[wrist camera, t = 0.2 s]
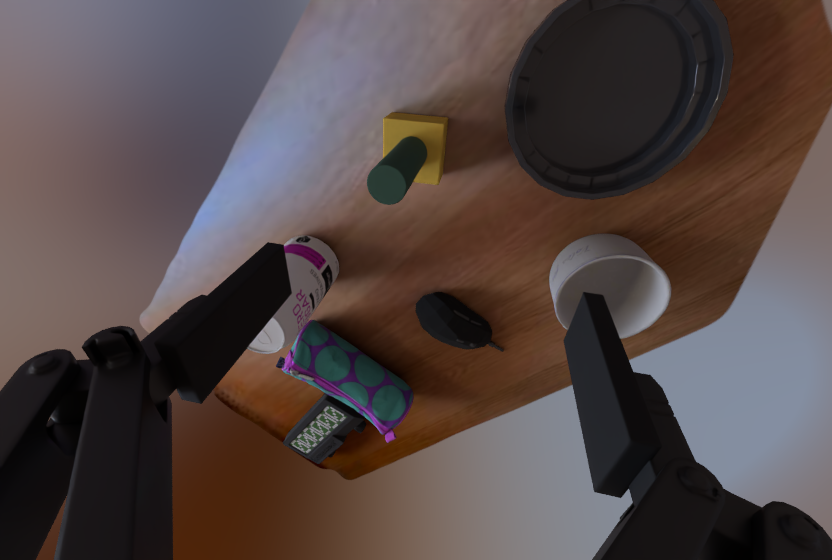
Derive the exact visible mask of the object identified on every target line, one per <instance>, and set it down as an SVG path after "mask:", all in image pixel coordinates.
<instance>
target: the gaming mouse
mask: <svg viewBox="0 0 832 560" xmlns="http://www.w3.org/2000/svg"><path fill="white" fill-rule="evenodd" d="M416 314H417V316H418V319H419V321H420V324H421V326H422V328H423V329H424V330H425V331H427V332H428V333H429V334H430V335H431V336H432V337H434V338H436V339H437V340H439V341H441V342H443V343H446V344H448V345H451V346H454V347H458V348H462V349H475V348H480V347H484V346H485V345H486V344H489V346H491V347H495V348H496V349H498V350H500V351H502V352H503V351H504V350H503V349H502V348H500V347H498V346H497V345H495V344H494V343H493V342H491V341H490V340H491V335H492V329H491V327H490V326H489V324H488V322H487V321H486V320H484V319H483V318H482V317H480V316H479V315H478V314H476V313H475V312H474V311H472V310H471V309H469V308H468V307H467V306H466V305H464V304H463V303H462V302H460V301H459V300H457V299H456V298H454V297H453V296H450V295H448V294H445V293H442V292H435V293H431V294H427V295H424V296H423V297H422V298H421V299H420V300H419V301H418V302H417V303H416Z"/></svg>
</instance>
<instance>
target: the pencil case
mask: <svg viewBox="0 0 832 560" xmlns="http://www.w3.org/2000/svg"><path fill="white" fill-rule="evenodd" d="M276 367H278V368H282V370H283V372H284V373H286V374H288V375H291V376H293V377H295V378H297V379H300V380H302V381H306V382H307V383H309V384H310V385H312V386H315V387H317V388H319V389H320V390H322V391H323V392H324V393H326V394H328V395H330V396H332V397H334V398H336V399H338V400H340V401H341V402H343V403H345V404H347V405H348V406H350V407H352V408H354V409H355V410H356V411H357V412H358V413H360V414H361V415H363V416H364V417H365V418H367V419H368V420H369V421H370V422H371V423H372V424H373V425H374V426H376V428H377V429H378V430H379V432H380V433H381V434H385V440H386V442H387V443H388V442H390V441H392V440H394V439H396V435H395V434H394V432H393V431H392V429H394V428H395V427H397V426H398V425H399V424H400V423H401V422H402V421H403V419H404V418H405V417H406V415H407V413H408V412H409V410H410V408H411V405H412V402H413V391H412V389H411V387H410V386H408V385H407V384H406V383H405V382H404V381H403V380H402V379H401V378H399V377H398V376H396V375H395V374H393V373H392V372H390V371H389V370H387V369H386V368H384V367H383V366H381V365H380V364H378V363H377V362H375V361H374V360H372V359H371V358H370V357H368V356H367V355H365V354H364V353H363V352H361V351H360V350H358V349H357V348H356V347H354V346H353V345H351V344H350V343H349V342H347V341H346V340H344V339H342V338H341V337H339V336H338V335H336V334H335V333H333V332H332V331H330V330H329V329H327V328H326V327H324V326H323V325H321V324H319V323H318V322H317V321H315V320H310V321H309V322H308V323H307V324H306V325H305V326H304V327H303V328H302V330H301V331H300V333H299V335H298V337H297V339H296V341H295V343H294V344H293V346H292V348H291V350H290V351H289V353H288V355H287V357H286V359H284V358H282V357H280V359H279V361H278V363H277V365H276Z"/></svg>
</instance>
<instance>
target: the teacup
mask: <svg viewBox="0 0 832 560" xmlns="http://www.w3.org/2000/svg"><path fill="white" fill-rule="evenodd" d="M549 281H550V290H551V294H552V298H553V302H554V308H555V312H556V316H557V318H558V320H559V322H560V323H561V324H562V325H563V327H564V328H565V329H567V330H568V329H569V326H570V324H571V321H572V319H573V316H574V314H575V311H576V309H577V307H578V304H579V302H580V299H581V297H582V294H583V292H588V293H594V294H601V295H603V296H604V298H605V301H606V304H607V306H608V309H609V311H610V314H611V316H612V319H613V322H614V324H615V327H616V329H617V332H618V334H619V337H620V339H623V338H626V337H630V336H633V335H635V334H637V333H639V332H641V331H643V330H645V329H646V328H648V327H649V326H651V325H652V324H653V323H654V322H656V321H657V320H658V319H659V318H660V316H661V315H662V314H663V313H664V312H665V310H666V308H667V306H668V304H669V301H670V298H671V285H670V281H669V278H668V276H667V275H666V273H665V272H664V270H663V269H662V268H661V267H660V266H658V265H657V264H656V263H655V262H654V261H653V260H652V259H651V258H650V257H649V256H648V255H647V253H646V252H645V251H644V250H643V249H642V248H640V247H639V246H638V245H637V244H635V243H634V242H633V241H631V240H629V239H627V238H625V237H622V236H619V235H614V234H594V235H589V236H586V237H583V238H580V239H578V240H576V241H574V242H572V243H571V244H569V245H568V246H567V247H566V248H564V249H563V250H562V251H561V252H560V254H559V255H558V256H557V257H556V259H555V261H554V263H553V265H552V268H551V271H550V278H549Z"/></svg>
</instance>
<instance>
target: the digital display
mask: <svg viewBox="0 0 832 560" xmlns="http://www.w3.org/2000/svg"><path fill="white" fill-rule="evenodd" d="M363 420H364V416H363V415H361V414H360V413H358V412H357V411H356V410H355V409H354V408H352V407H350V406H348V405H347V404H345V403H343V402H341V401H340V400H338V399H336V398H334V397H332V396H330V395H328V394H326V393H325V394H324V395H323V396H322V397H321V398H320V399H319V400H318V401H317V403H316V404H315V405H314V406H313V407H312V408H311V409H310V410H309V411H308V412H307V413H306V414H305V415H304V417H303V418H302V419H301V420H300V421H299V422H298V423H297V424H296V425H295V426H294V427H293V428H292V429H291V430H290V432H289V433H288V435H287V437H286V438H285V440H284V442H283V444H284V445H285V446H287V447H289V448H290V449H292V450H294V451H296V452H297V453H299V454H301V455H303V456H304V457H306V458H308V459H310V460H312V461H314V462H316V463H317V464H320V463H321V462H322V461H323V460H324V459H325V458H327V457H332V456H333V455H334V453H335V451H336V449H337V448H339V447H340V446H341V445H342V444H343V443H344V441H345V439H346V436H347V434H348V433H349V432H351V431H352V430H353V429H354V430H355V431H357V432H359V433H361V432H362V431H363V430H364V428H365V426H366V422H365V421H363Z"/></svg>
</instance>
